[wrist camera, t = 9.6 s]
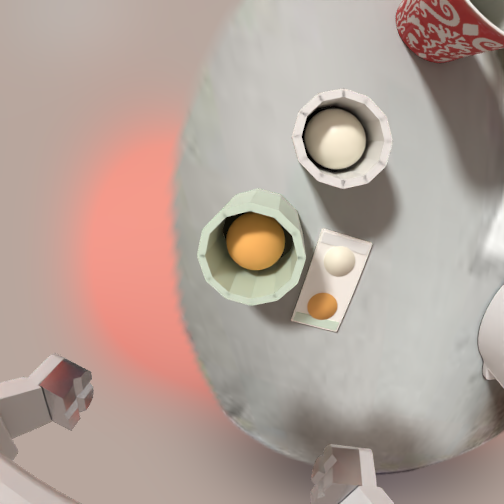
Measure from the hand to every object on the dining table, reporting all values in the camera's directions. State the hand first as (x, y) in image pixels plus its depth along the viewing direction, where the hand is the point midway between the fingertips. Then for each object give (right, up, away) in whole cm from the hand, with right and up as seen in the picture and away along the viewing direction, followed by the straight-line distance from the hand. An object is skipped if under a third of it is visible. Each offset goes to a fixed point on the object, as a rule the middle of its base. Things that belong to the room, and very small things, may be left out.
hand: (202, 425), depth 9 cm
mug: (+19, +28, +12) cm, 36 cm away
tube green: (+2, +7, +21) cm, 22 cm away
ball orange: (+2, +7, +21) cm, 22 cm away
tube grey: (+8, +15, +17) cm, 25 cm away
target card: (+9, +3, +22) cm, 24 cm away
